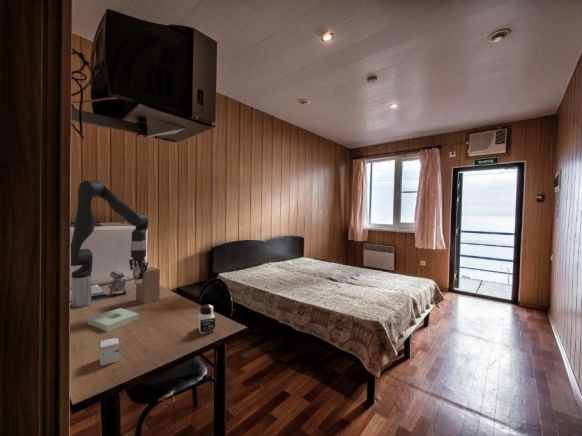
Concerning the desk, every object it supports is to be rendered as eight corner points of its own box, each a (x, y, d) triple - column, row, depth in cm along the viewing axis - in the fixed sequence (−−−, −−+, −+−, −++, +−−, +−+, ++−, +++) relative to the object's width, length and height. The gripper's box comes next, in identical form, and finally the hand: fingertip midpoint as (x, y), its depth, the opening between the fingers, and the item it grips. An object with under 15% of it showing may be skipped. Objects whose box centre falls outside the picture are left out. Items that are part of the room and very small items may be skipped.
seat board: (88, 324, 135) (88, 318, 134) (120, 313, 149) (120, 307, 149) (106, 331, 128) (106, 325, 127) (138, 319, 142) (138, 313, 142)
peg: (132, 283, 151) (132, 265, 151) (139, 281, 155) (139, 264, 155) (137, 284, 150) (137, 266, 149) (144, 282, 153) (144, 265, 153)
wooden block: (159, 299, 172) (160, 268, 171) (144, 304, 164) (144, 271, 163) (151, 296, 177) (151, 266, 176) (135, 300, 169) (135, 269, 168)
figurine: (123, 290, 187) (123, 269, 186) (126, 295, 178) (126, 272, 178) (107, 293, 181) (107, 271, 180) (110, 297, 172) (110, 274, 172)
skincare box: (100, 366, 101) (100, 347, 100) (100, 358, 106) (99, 340, 105) (119, 361, 104) (119, 342, 104) (118, 354, 109) (118, 336, 109)
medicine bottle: (200, 334, 128) (200, 309, 128) (197, 327, 134) (198, 304, 134) (215, 331, 131) (215, 307, 131) (212, 325, 138) (212, 302, 137)
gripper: (124, 248, 151) (123, 277, 152) (140, 250, 145) (140, 281, 146) (136, 246, 158) (136, 275, 159) (153, 249, 152) (152, 278, 153)
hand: (138, 278), depth 152 cm, fingers closed on peg, 4 cm apart
